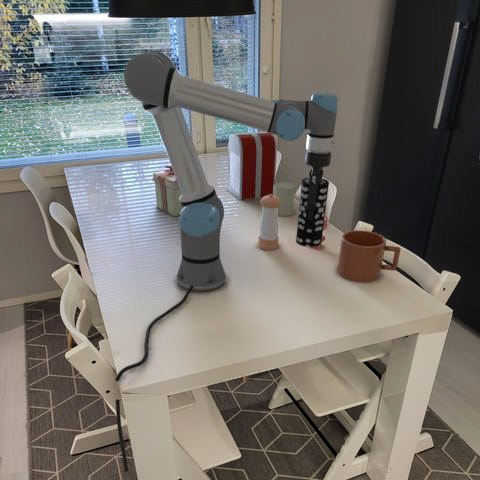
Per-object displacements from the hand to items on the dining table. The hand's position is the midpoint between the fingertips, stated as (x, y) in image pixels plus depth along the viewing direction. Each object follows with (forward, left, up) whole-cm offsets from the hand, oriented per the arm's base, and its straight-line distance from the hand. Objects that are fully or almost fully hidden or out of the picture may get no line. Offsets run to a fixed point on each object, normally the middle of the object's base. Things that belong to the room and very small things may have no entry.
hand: (310, 223), depth 155 cm
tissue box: (+72, +36, -15) cm, 82 cm away
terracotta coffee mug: (0, -20, -15) cm, 25 cm away
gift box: (+40, +61, -15) cm, 74 cm away
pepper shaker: (+13, +16, -15) cm, 25 cm away
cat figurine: (+17, -1, -15) cm, 23 cm away
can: (+50, +17, -15) cm, 55 cm away
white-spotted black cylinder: (0, 0, -7) cm, 7 cm away
